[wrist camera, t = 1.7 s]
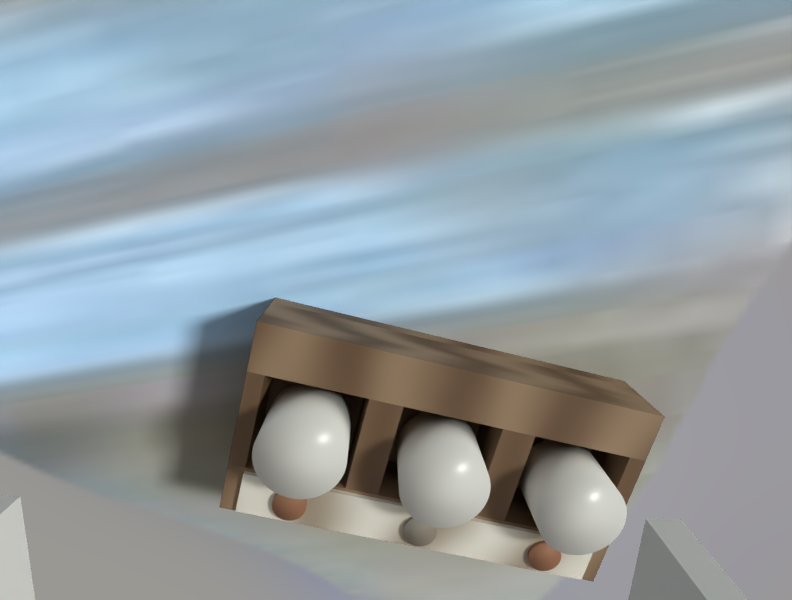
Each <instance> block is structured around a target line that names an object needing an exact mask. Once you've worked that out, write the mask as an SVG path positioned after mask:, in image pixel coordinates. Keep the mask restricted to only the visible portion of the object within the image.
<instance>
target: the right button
mask: <svg viewBox="0 0 792 600" xmlns="http://www.w3.org/2000/svg"><path fill="white" fill-rule="evenodd" d="M518 483H519V486H520V488H521V491H522V493H523V495H524V498H525V500H526V502H527V505H528V507H529V509H530V511H531V514H532V516H533V518H534V521H535V523H536V525H537V528H538V530H539V532H540V534H541V536H542V538H543V540H544V541H545V542H546V543H547V544H548V545H549V546H550V547H551V548H553V549H555V550H556V551H559V552H561V553H564V554H569V555H585V554H590V553H593V552H596V551H599V550H601V549H603V548H604V547H606V546H608V545H609V544H610V543H611V542H613V541H614V540H615V539H616V537H617V536H618V535H619V534H620V532H621V531H622V528H623V527H624V524H625V521H626V516H627V509H626V504H625V501H624V499H623V497H622V495H621V494H620V492H619V491H618V489H617V488H616V487H615V485H614V484H613V483H612V481H611V480H610V479H609V477H608V476H607V474H606V473H605V472H604V470H603V469H602V468H601V466H600V465H599V464H598V462H597V461H596V459H595V458H594V457H593V455H592V454H591V453H590V451H589V450H588V449H587V448H585V447H581V446H576V445H572V444H568V443H563V442H559V441H554V440H550V439H547V440H544V441H542V442H539V443H538V444H536V445H534V446H533V447H532V448H531V450H530V453H529V455H528V458H527V461H526V463H525V466H524V469H523V472H522V474H521V477H520V480H519V482H518Z"/></svg>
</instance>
